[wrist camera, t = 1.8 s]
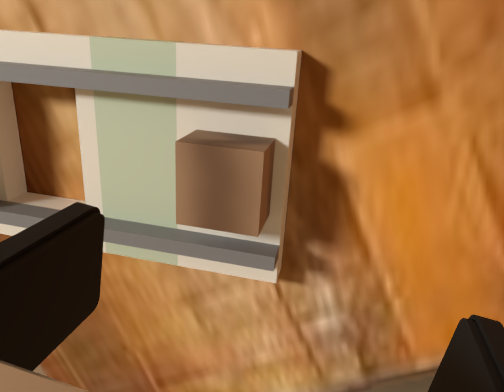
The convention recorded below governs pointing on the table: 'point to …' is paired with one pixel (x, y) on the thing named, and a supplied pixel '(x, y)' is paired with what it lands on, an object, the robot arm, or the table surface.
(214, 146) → the walnut block
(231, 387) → the table surface
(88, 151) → the lane board
